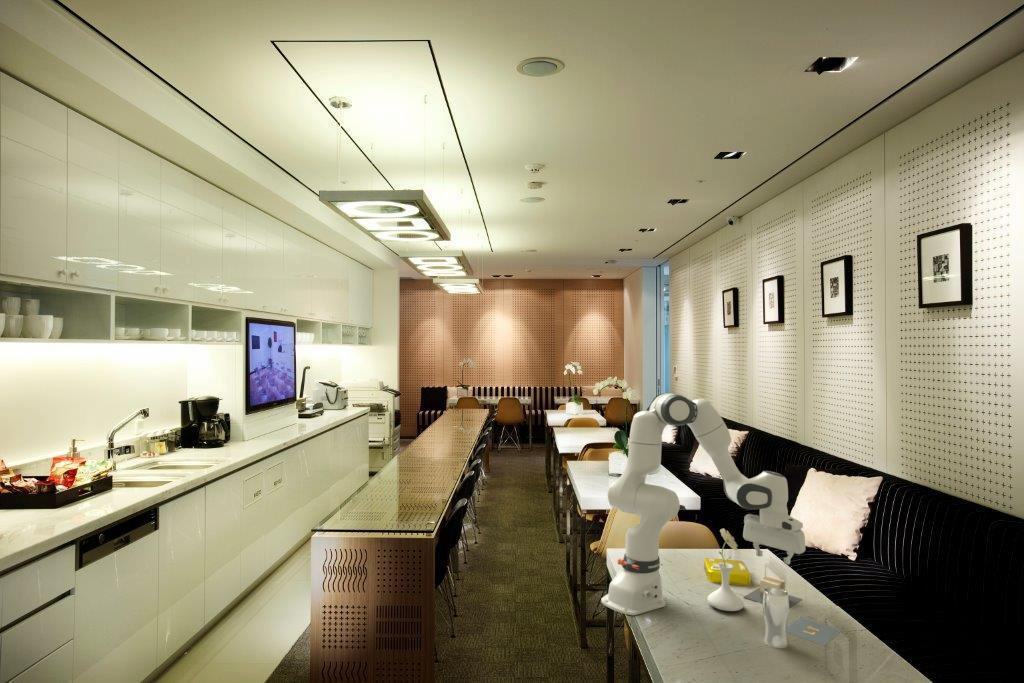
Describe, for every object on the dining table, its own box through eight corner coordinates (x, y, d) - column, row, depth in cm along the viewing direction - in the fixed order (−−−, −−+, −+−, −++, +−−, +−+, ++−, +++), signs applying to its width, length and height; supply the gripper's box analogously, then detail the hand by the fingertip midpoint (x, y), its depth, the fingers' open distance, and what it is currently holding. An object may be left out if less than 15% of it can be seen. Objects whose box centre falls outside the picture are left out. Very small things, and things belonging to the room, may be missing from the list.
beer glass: (766, 635, 172) (766, 584, 172) (791, 642, 168) (791, 591, 168) (759, 644, 167) (759, 592, 167) (785, 652, 162) (785, 598, 162)
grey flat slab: (824, 646, 166) (824, 645, 166) (781, 631, 175) (781, 630, 175) (841, 631, 175) (841, 630, 175) (800, 617, 184) (800, 616, 184)
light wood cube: (777, 603, 193) (777, 585, 193) (759, 597, 198) (760, 579, 198) (785, 598, 197) (785, 580, 197) (767, 592, 202) (767, 575, 202)
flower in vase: (746, 616, 184) (747, 538, 184) (709, 612, 186) (710, 535, 187) (739, 599, 197) (739, 526, 197) (704, 596, 199) (705, 523, 199)
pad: (784, 611, 188) (784, 610, 188) (743, 597, 198) (743, 596, 198) (802, 599, 197) (802, 599, 197) (761, 587, 207) (761, 586, 207)
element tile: (751, 587, 208) (751, 573, 208) (708, 583, 211) (708, 570, 211) (743, 571, 223) (743, 559, 223) (703, 568, 226) (703, 556, 226)
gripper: (740, 513, 203) (739, 553, 203) (799, 527, 188) (799, 570, 187) (748, 511, 207) (748, 549, 207) (807, 524, 192) (807, 566, 192)
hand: (772, 559), depth 197 cm, fingers open, 8 cm apart
